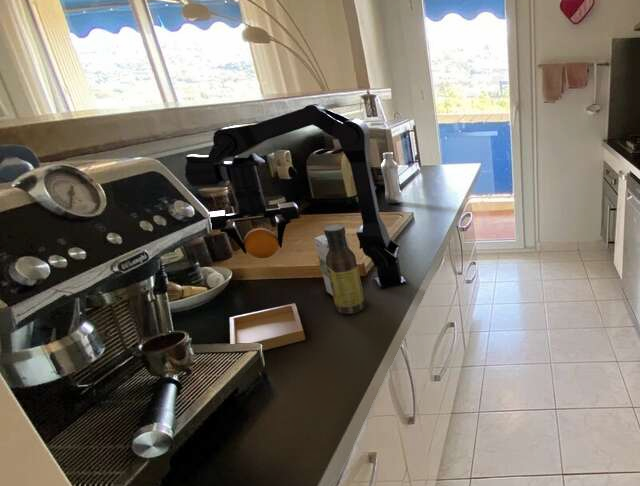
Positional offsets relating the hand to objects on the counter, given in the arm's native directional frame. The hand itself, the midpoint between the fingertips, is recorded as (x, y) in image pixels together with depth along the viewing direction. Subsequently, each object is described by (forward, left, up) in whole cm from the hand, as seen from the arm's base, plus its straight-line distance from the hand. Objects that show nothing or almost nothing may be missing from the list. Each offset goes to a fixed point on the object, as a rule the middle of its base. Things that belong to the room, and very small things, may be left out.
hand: (263, 249), depth 108 cm
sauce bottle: (-21, -14, -10) cm, 28 cm away
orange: (0, 0, +2) cm, 2 cm away
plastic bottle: (+64, -49, -10) cm, 81 cm away
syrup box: (-11, -14, -10) cm, 21 cm away
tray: (-23, +3, -10) cm, 26 cm away
